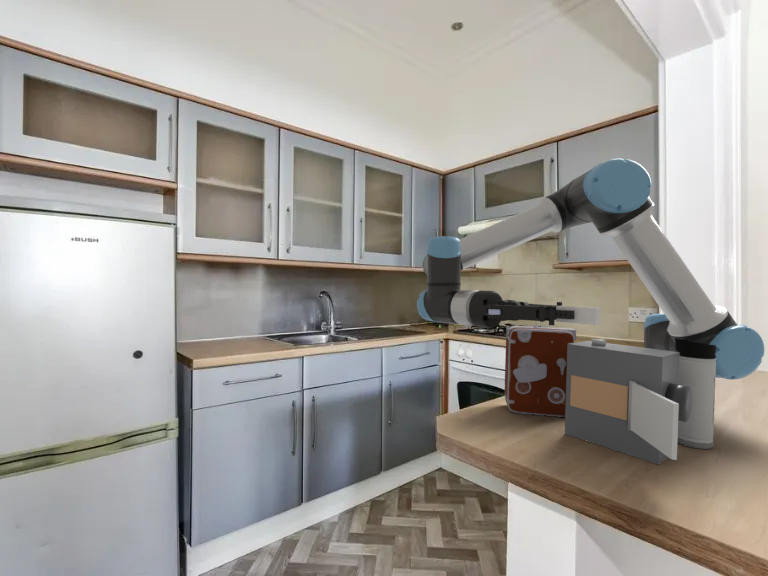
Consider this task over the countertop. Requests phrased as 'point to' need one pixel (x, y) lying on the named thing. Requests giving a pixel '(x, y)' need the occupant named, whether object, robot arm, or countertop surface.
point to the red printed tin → (537, 369)
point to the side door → (653, 419)
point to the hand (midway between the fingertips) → (597, 316)
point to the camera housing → (618, 393)
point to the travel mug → (697, 392)
